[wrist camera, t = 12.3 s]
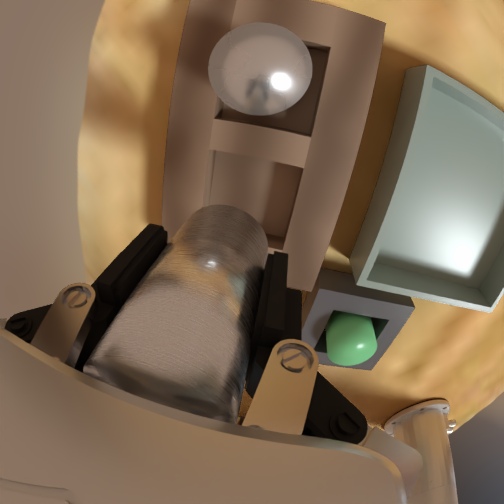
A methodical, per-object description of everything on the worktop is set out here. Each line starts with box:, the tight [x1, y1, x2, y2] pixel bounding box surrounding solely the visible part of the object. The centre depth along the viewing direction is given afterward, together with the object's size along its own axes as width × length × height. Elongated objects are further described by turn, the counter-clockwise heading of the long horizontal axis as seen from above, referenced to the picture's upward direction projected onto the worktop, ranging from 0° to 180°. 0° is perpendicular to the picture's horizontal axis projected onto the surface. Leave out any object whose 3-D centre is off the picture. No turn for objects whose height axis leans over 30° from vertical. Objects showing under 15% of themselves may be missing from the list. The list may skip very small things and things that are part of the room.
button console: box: [302, 268, 415, 370], centre depth 24 cm, size 9×9×3 cm
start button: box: [325, 310, 377, 366], centre depth 23 cm, size 4×4×4 cm
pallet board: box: [162, 0, 386, 292], centre depth 17 cm, size 12×20×3 cm, turn 170°
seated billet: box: [208, 22, 312, 115], centre depth 12 cm, size 4×4×8 cm
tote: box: [349, 65, 504, 313], centre depth 17 cm, size 16×16×4 cm
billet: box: [83, 204, 268, 424], centre depth 9 cm, size 4×4×8 cm
